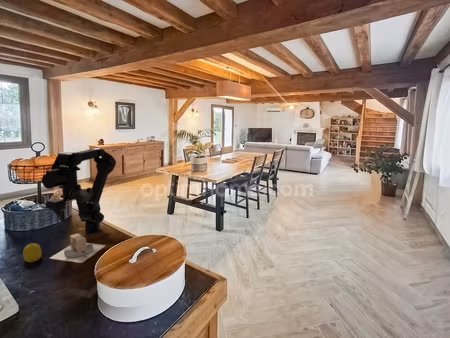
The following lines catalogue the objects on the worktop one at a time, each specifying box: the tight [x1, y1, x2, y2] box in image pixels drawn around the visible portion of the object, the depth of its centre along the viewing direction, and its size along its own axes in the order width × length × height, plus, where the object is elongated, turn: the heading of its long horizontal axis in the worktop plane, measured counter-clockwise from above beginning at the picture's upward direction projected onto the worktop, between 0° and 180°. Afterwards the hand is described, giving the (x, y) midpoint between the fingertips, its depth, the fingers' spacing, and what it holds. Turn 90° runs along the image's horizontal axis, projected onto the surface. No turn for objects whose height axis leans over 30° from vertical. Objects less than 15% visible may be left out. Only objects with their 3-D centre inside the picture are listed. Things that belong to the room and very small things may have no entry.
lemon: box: [22, 242, 43, 263], centre depth 96 cm, size 6×6×8 cm
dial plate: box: [49, 242, 106, 264], centre depth 103 cm, size 14×14×2 cm
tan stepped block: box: [63, 232, 93, 257], centre depth 102 cm, size 10×10×6 cm
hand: (72, 218), depth 109 cm, fingers open, 9 cm apart
